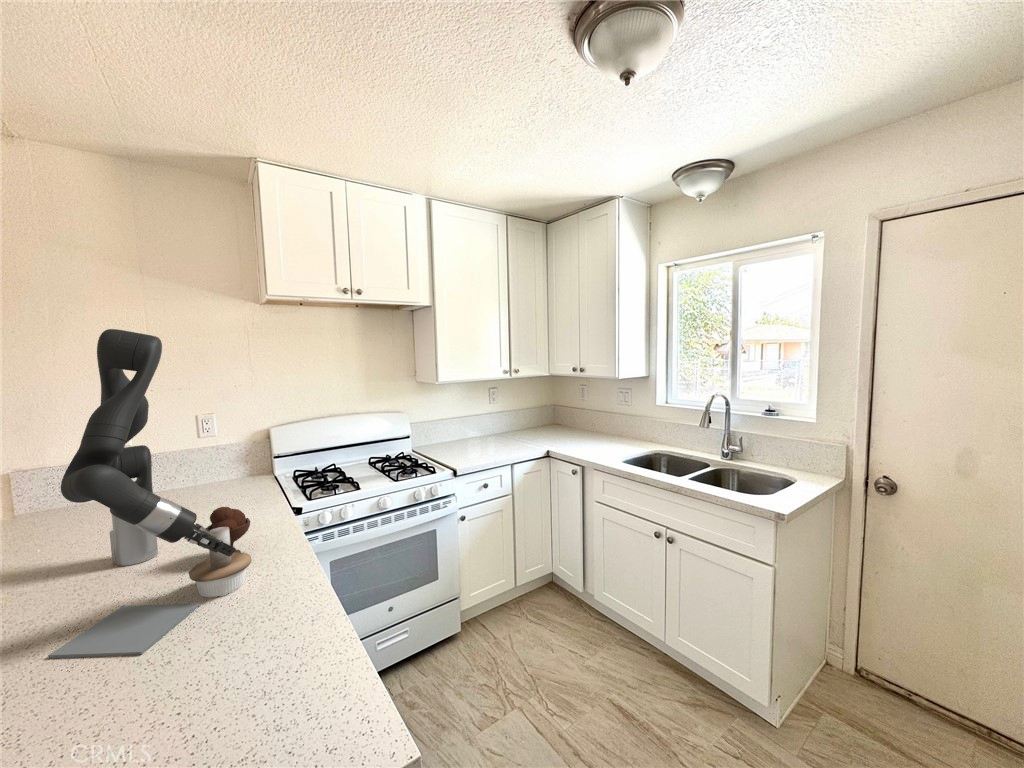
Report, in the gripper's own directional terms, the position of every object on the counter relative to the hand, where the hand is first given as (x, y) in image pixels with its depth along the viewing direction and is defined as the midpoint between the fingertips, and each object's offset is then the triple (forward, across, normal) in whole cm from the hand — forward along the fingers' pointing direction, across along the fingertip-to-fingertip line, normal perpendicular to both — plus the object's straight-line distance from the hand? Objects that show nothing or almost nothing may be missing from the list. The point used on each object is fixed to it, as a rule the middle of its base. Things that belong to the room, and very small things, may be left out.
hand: (229, 549), depth 107 cm
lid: (+1, 0, +4) cm, 4 cm away
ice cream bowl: (+10, +18, +3) cm, 21 cm away
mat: (-8, -3, +20) cm, 22 cm away
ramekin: (+5, 0, +8) cm, 10 cm away
